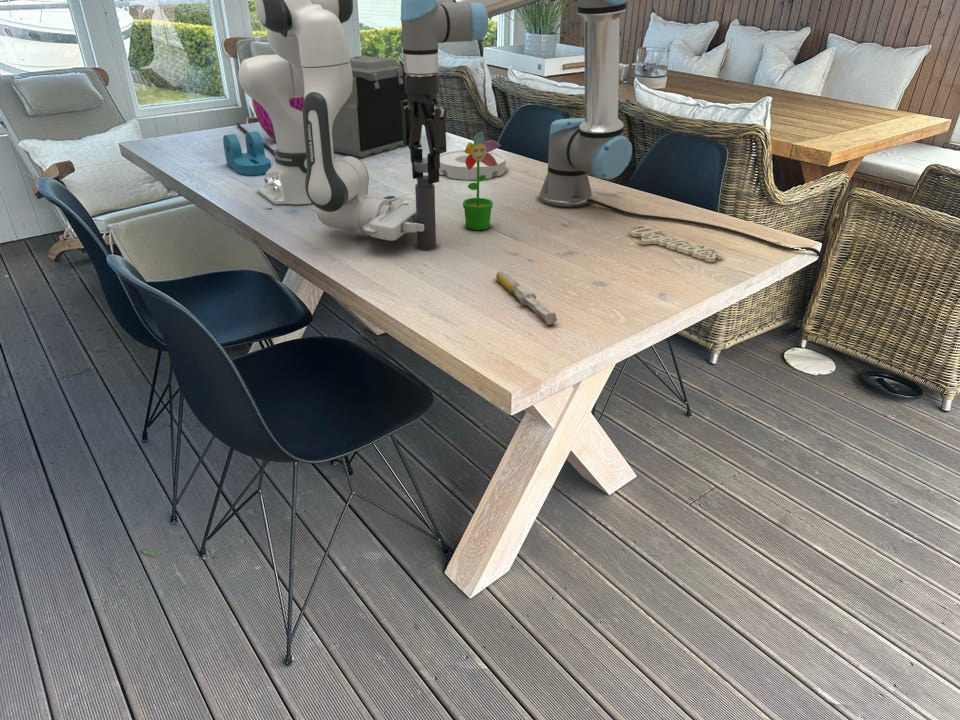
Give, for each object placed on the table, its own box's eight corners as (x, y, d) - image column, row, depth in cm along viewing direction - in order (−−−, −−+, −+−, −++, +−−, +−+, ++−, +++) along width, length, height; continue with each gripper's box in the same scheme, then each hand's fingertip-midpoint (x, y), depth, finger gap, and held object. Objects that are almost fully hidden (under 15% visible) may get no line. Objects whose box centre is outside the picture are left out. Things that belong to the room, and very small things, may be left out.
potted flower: (469, 233, 178) (469, 134, 165) (456, 224, 184) (455, 127, 171) (501, 228, 181) (503, 130, 169) (487, 219, 187) (488, 124, 175)
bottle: (420, 242, 172) (418, 174, 163) (438, 244, 171) (436, 175, 163) (415, 249, 168) (412, 179, 160) (433, 250, 167) (431, 180, 159)
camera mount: (227, 164, 233) (221, 132, 227) (257, 160, 238) (252, 129, 233) (244, 176, 220) (239, 143, 215) (276, 172, 225) (271, 139, 220)
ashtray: (439, 160, 240) (438, 148, 238) (505, 161, 240) (505, 150, 238) (433, 179, 220) (432, 166, 218) (505, 180, 220) (505, 168, 218)
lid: (421, 174, 157) (420, 164, 156) (410, 168, 161) (409, 159, 160) (440, 170, 160) (440, 161, 159) (429, 165, 163) (429, 156, 162)
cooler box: (383, 133, 276) (378, 52, 261) (425, 141, 265) (422, 56, 250) (314, 150, 251) (304, 61, 235) (358, 160, 240) (350, 67, 224)
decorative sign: (617, 232, 177) (640, 223, 183) (616, 235, 177) (640, 227, 183) (706, 262, 160) (729, 252, 166) (705, 266, 160) (728, 255, 166)
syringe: (491, 278, 153) (492, 266, 152) (507, 275, 154) (507, 264, 153) (540, 327, 133) (541, 315, 132) (557, 324, 134) (558, 312, 133)
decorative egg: (293, 132, 276) (283, 50, 261) (319, 140, 264) (310, 56, 249) (249, 139, 265) (236, 54, 250) (273, 148, 253) (261, 60, 238)
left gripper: (357, 217, 160) (411, 224, 156) (395, 193, 177) (444, 199, 173) (359, 243, 164) (412, 250, 160) (396, 216, 180) (445, 223, 176)
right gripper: (462, 76, 146) (463, 184, 158) (408, 67, 157) (413, 169, 169) (435, 80, 142) (439, 191, 154) (382, 71, 153) (389, 175, 165)
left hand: (429, 223), depth 167 cm, fingers closed on bottle, 4 cm apart
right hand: (425, 179), depth 162 cm, fingers closed on lid, 5 cm apart
